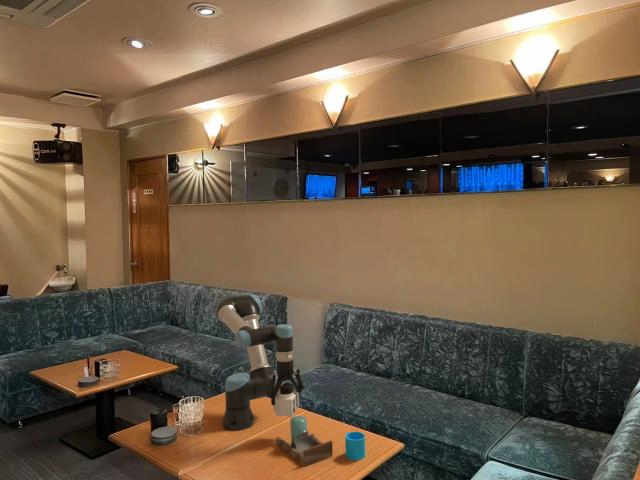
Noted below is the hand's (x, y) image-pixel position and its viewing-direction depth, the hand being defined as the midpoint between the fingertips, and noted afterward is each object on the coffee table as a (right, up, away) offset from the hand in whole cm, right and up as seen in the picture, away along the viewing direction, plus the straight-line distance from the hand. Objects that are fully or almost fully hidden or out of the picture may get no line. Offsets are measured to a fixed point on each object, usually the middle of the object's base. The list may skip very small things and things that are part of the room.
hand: (286, 408), depth 205 cm
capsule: (+6, -13, -8) cm, 17 cm away
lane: (+8, -13, -11) cm, 19 cm away
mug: (+30, -13, -15) cm, 36 cm away
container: (0, -2, 0) cm, 2 cm away
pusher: (+9, -13, -12) cm, 20 cm away
